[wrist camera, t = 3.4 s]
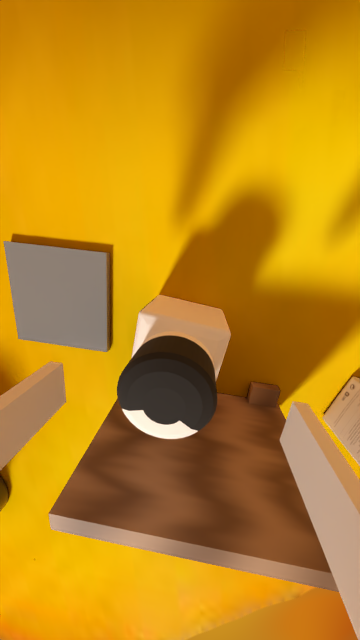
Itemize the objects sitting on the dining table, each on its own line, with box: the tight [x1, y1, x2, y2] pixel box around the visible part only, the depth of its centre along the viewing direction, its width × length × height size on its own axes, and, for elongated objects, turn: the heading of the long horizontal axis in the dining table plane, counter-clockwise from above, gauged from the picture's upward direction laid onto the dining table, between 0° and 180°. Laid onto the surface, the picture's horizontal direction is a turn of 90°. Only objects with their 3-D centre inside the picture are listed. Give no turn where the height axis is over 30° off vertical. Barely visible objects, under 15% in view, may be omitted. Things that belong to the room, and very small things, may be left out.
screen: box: [49, 382, 339, 592], centre depth 18 cm, size 18×6×14 cm, turn 84°
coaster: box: [4, 241, 110, 352], centre depth 23 cm, size 11×11×1 cm
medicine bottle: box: [117, 295, 231, 439], centre depth 17 cm, size 7×7×12 cm
